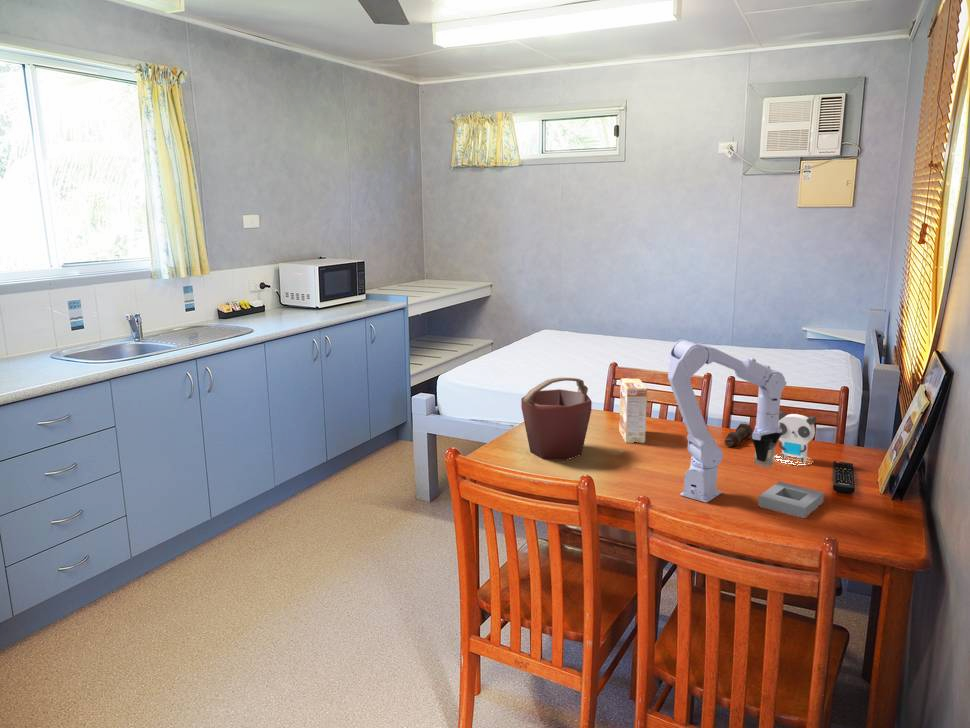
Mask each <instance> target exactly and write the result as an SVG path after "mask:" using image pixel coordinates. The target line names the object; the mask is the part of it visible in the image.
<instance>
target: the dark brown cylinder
mask: <svg viewBox="0 0 970 728" xmlns="http://www.w3.org/2000/svg"><path fill="white" fill-rule="evenodd" d="M753 432H754V430H753V429H752V426H751V425H750V424H747V423H742V422H741V423H740V424H738V426H737V427H736V429H735V431H730V432H729V433H728V434H727V435H726V436H725V439H724V440H723V441H724V444H725V445H726V446H727V447H729V448H731V447H733V446H734V445H737V446H738V445H740V443H741V442H742V440H743V439H745V438H748V439H750V438H751V435H753Z"/></svg>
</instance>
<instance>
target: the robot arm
mask: <svg viewBox="0 0 970 728" xmlns="http://www.w3.org/2000/svg"><path fill="white" fill-rule="evenodd" d="M668 354H669V358H670V359H669V364H668V365H669V366H668V371H667V372H668V373H667V379H668V383H669V386H670V388H671V390H672V393H673V396H674V398H675V401H676V404H677V407H678V410H679V411H680V412H679V413H680V414H681V418H682V420H683V423H684V426H685V428H686V430H687V433H688V434H687V436H686V439H687V451H688V453H689V455H690V457H691V458H690V466H689V469H687V471H686V472H685V473H684V478H683V479H684V480H683V491H682V492H680V494H679V495H680V496H682V497H684V498H685V497H686V498H689V499H693V500H696V501H700V502H702V503H703V502H704V503H708V502H710V501H711V500H714V499H715V498H717V497H718V496H720V495H721V494H722V493H723V491H721V490H717V485H718V484H717V482H718V468H719V467H718V465H720V463H721V462H722V460H723V457H724V454H723V451H722V448H721V447H720V446H718V445H717V444H716V441H715V439H714V438H713V436H712V435H711V433H710V432H709V430H708V428H707V424H706V422H705V419H704V416H703V413H702V410H701V408H700V406H699V403H698V399H697V397H696V395H695V392H694V389H693V386H692V384H691V383H692V382H691V379H692V377H693V376H694V375H695V374H696V373H697V372H698V371H700V369H701V368H702V367H703V366H705V364H706V365H710V364H712V363H716V364H718V365H721V366H723V367H724V368H725V367H726V368H728V369H731V370H732V371H734V373H735V376H736V377H737V378H739V379H741V380H743V381H746V382H748V383H750V384H753V385H755V386H757V387H758V395H757V397H758V398H757V408H756V409H757V412H756V420H755V421H756V422H755V426H754V430H753V434H752V435H751V436H750V440H751V442H752V444H753V447H754V452H755V451H756V456H757V460H759V461H763V462H765V461H766V458H767V453H768V449H769V446H770V444H771V443H775V444H776V445H775V447H776V446H777V443H778V442H779V441H780V440H779V438H780V437H781V435H782V433H781V432H782V429H780V422H779V412H780V407H781V397H782V393H783V391H784V389H785V387H787V381H786V378H785V376H784V374H783V373H782V372H779V371H777V370H775V369H772V368H771V366H770V365H768V364H761V363H759V362H757V359H755V358H753V357H749V358H748V357H744V358H741V359H738V358H737V357H734V356H731V355H730V354H727V353H725V352H723V351H722V350H719V349H718V348H715V347H712V346H710V345H707V344H703V343H701V342H696V341H691V340H689V339H686V338H685V339H684V338H682V339H679V340H677V341H676V342H675V343H674V344H673V346H672V348H671V349H670V351H669V353H668Z"/></svg>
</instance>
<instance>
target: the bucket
mask: <svg viewBox="0 0 970 728" xmlns="http://www.w3.org/2000/svg"><path fill="white" fill-rule="evenodd" d="M563 381H565V382H566V381H569V382H571V381H572V382H576V386H577V391H573V390H566V389H559V388H558V389H545V388H546V387H548V386H551V384H553V383H558V382H563ZM543 389H545V390H543ZM588 391H589V387H587V385H585V382H584V380H582V379H581V378H576V377H555V378H554V377H553V378H549V379H546V380H544V381H541V382H540V383H539V384H537V385H536V386H535V387H533V388H531V389H529V391H528V392H527V393H526V395H524V396H523V397H521V400H520V401H521V402H520V405H521V412H522V417H523V421H524V422H523V423H524V427H525V431H526V437H527V442H528V448H529V452H530V453H531V454H533V455H535V456H537V457H538V458H540V459H541V460H551V461H552V460H554V461H555V460H558V461H567V459H568V460H570V459H569V458H571V459H573V458H572V457H574V458H576V457H575V456H577V457H579V456H578V455H580V456H582V454H583V448H584V445H585V440H586V438H587V437H586V436H587V431H588V427H589V423H590V419H591V415H592V414H591V413H592V406H593V405H592V404H593V403H592V399H591V398H590V396H589V395H588Z"/></svg>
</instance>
